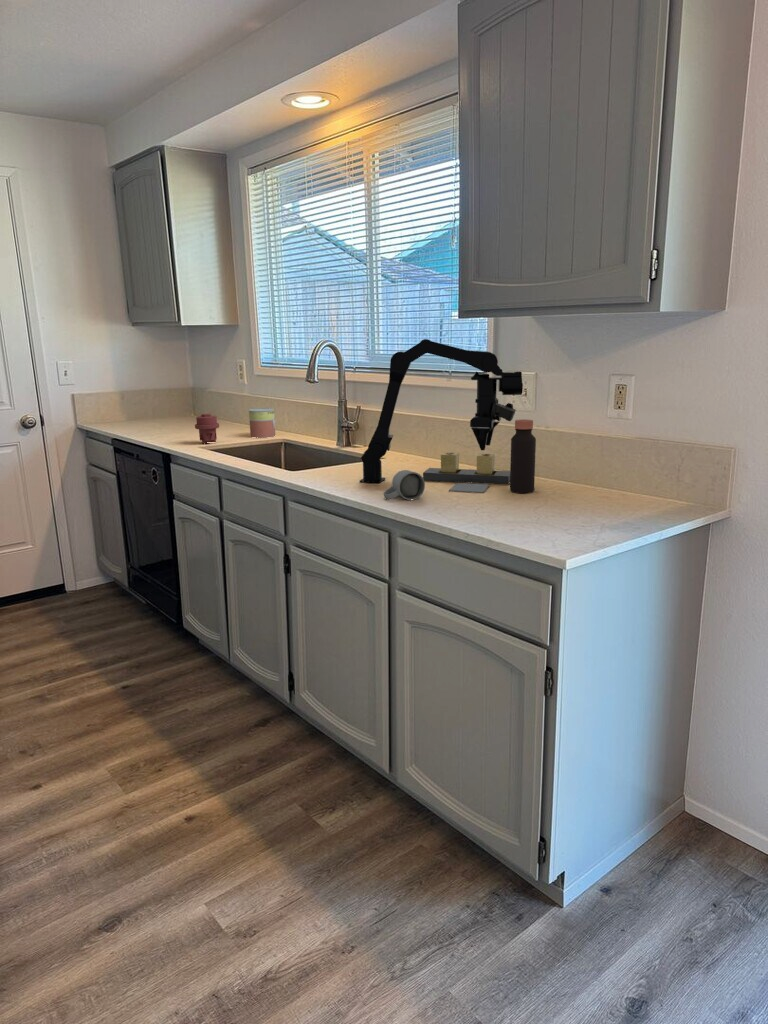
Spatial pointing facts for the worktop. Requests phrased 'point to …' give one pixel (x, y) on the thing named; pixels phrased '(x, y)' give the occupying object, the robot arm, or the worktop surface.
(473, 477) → the rack rail
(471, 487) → the grey pad
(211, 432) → the mechanical component
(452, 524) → the worktop surface
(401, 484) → the ceramic mug
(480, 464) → the olive beige rectangular block
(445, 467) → the khaki square post block
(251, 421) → the canned food
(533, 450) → the bottle
